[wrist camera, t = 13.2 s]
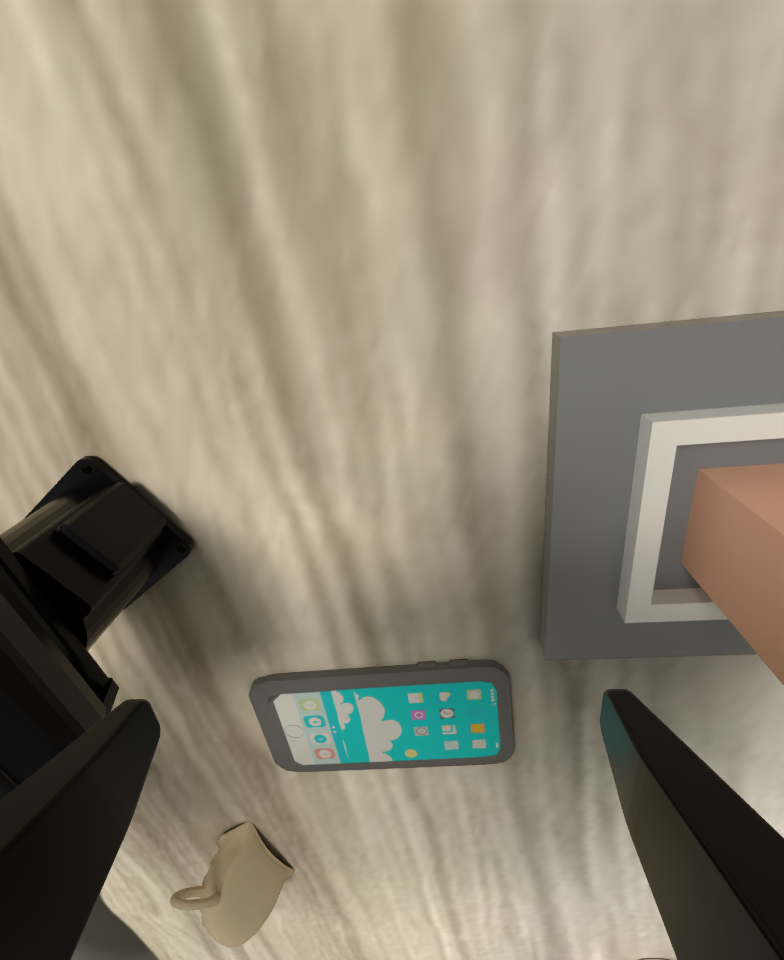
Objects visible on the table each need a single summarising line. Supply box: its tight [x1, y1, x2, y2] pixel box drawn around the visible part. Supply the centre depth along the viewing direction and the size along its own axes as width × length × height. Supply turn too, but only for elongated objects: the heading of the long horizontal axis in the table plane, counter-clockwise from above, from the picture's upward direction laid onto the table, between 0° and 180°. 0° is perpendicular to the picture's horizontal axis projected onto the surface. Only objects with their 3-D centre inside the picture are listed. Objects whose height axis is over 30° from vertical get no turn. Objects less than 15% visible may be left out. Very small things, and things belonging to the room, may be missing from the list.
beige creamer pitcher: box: [170, 821, 294, 947], centre depth 33 cm, size 4×8×5 cm, turn 22°
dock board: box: [540, 311, 784, 660], centre depth 20 cm, size 16×16×2 cm
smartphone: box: [249, 659, 514, 772], centre depth 28 cm, size 9×1×15 cm
